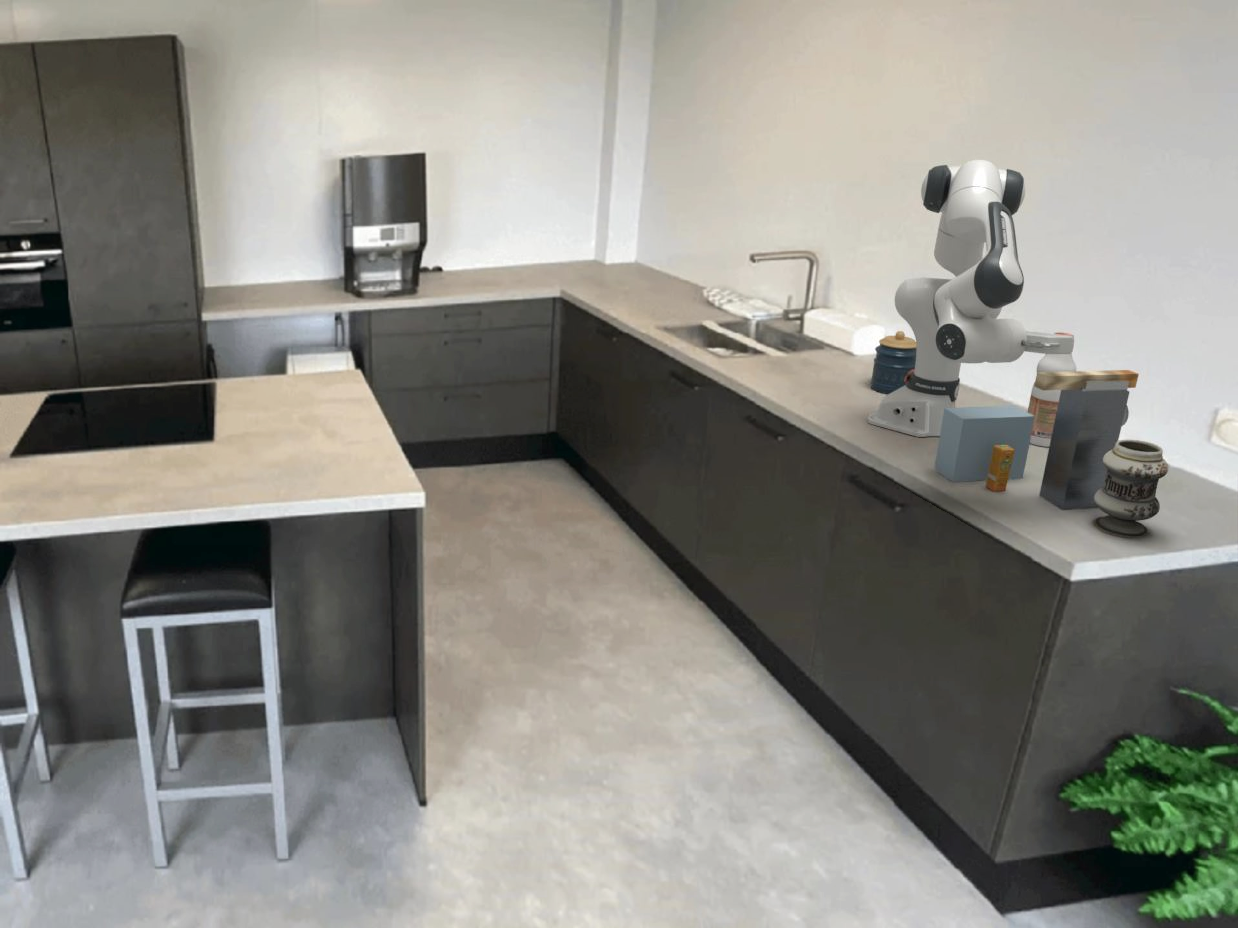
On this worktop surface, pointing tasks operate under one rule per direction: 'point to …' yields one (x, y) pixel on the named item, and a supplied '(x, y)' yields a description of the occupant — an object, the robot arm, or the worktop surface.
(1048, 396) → the fruit juice
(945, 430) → the pale blue brick
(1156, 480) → the apothecary jar
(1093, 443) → the housing tower
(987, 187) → the robot arm
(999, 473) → the supplement box
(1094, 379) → the tan wooden bar
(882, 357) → the canister
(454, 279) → the worktop surface
